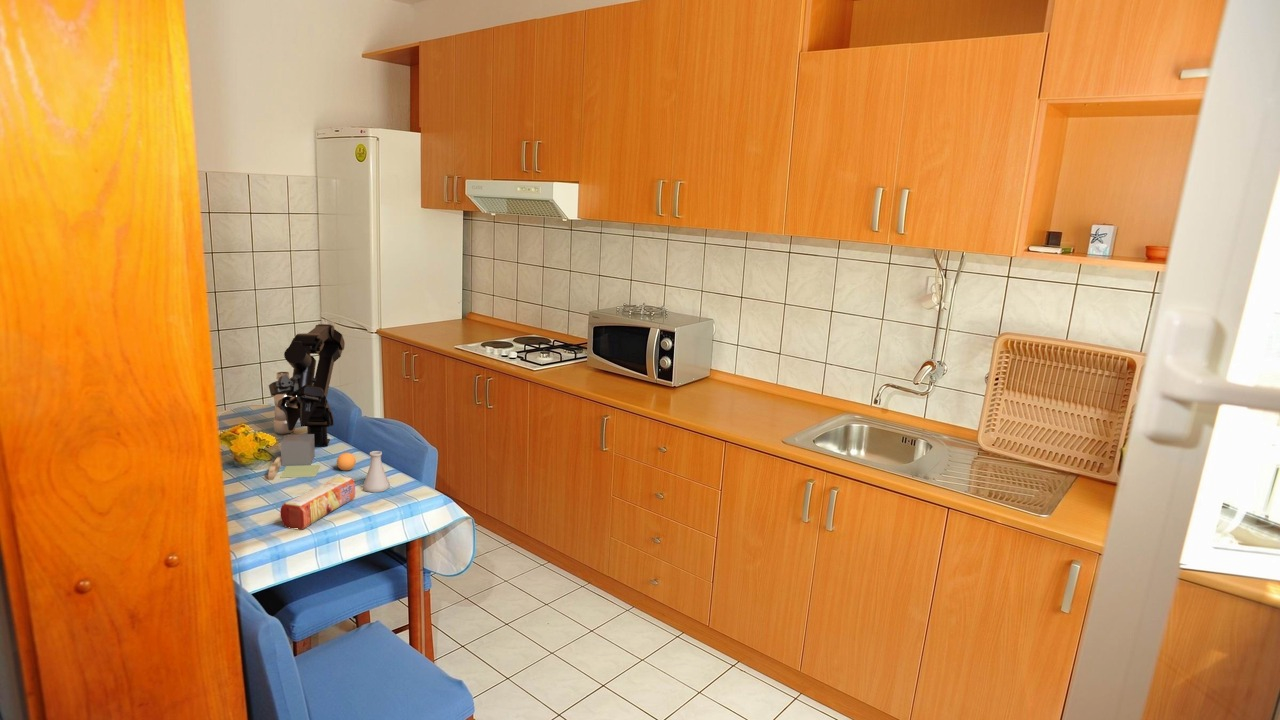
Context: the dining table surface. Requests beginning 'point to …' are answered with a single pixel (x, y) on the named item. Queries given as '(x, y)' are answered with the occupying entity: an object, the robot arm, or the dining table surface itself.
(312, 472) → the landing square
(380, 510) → the dining table surface
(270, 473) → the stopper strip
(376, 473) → the flask
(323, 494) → the snack package
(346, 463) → the ball
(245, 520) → the dining table surface
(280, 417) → the plastic bottle
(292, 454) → the smooth grey cube
